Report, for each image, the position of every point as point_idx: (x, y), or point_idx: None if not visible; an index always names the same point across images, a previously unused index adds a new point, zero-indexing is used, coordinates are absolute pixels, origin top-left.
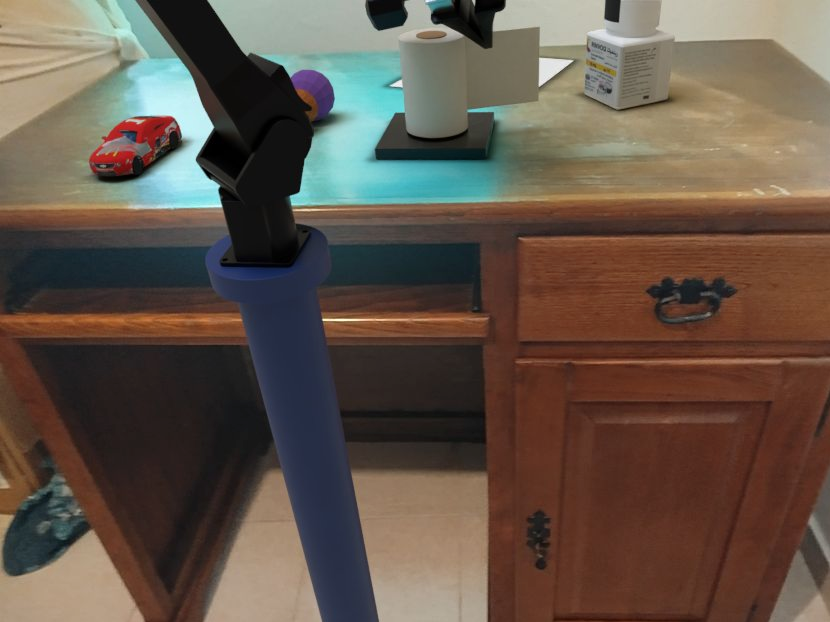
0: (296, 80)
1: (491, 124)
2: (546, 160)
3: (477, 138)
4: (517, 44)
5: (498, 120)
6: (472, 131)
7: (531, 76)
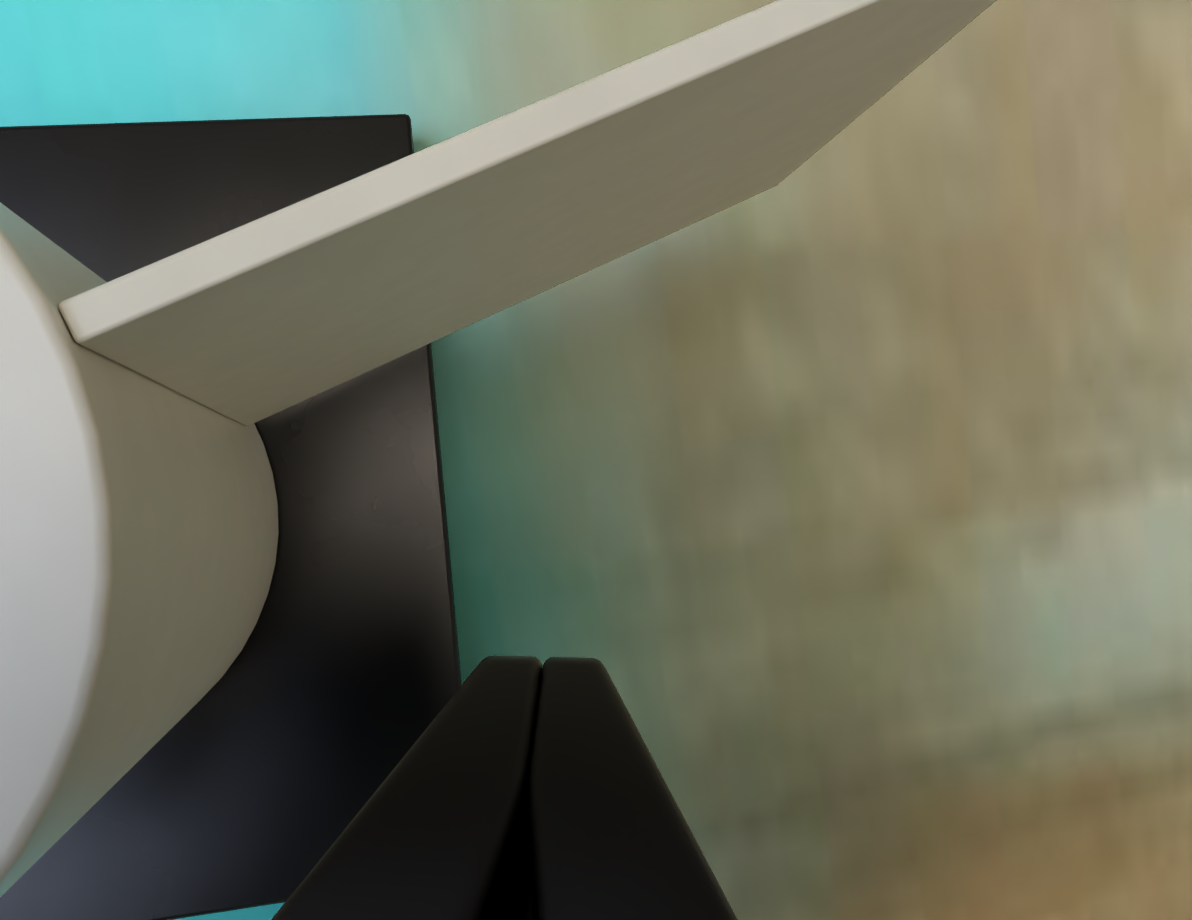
0: None
1: (433, 376)
2: (837, 804)
3: (386, 690)
4: (777, 95)
5: (433, 101)
6: (322, 550)
7: (793, 148)
